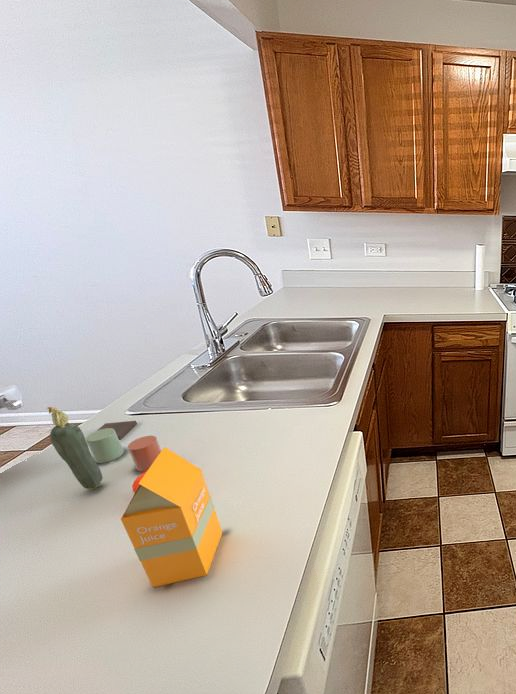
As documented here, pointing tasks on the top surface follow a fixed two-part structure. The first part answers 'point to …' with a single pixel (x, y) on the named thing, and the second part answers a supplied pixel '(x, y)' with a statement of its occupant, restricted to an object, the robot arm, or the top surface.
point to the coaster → (120, 427)
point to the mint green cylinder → (104, 445)
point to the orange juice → (173, 521)
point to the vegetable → (74, 450)
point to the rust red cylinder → (144, 452)
